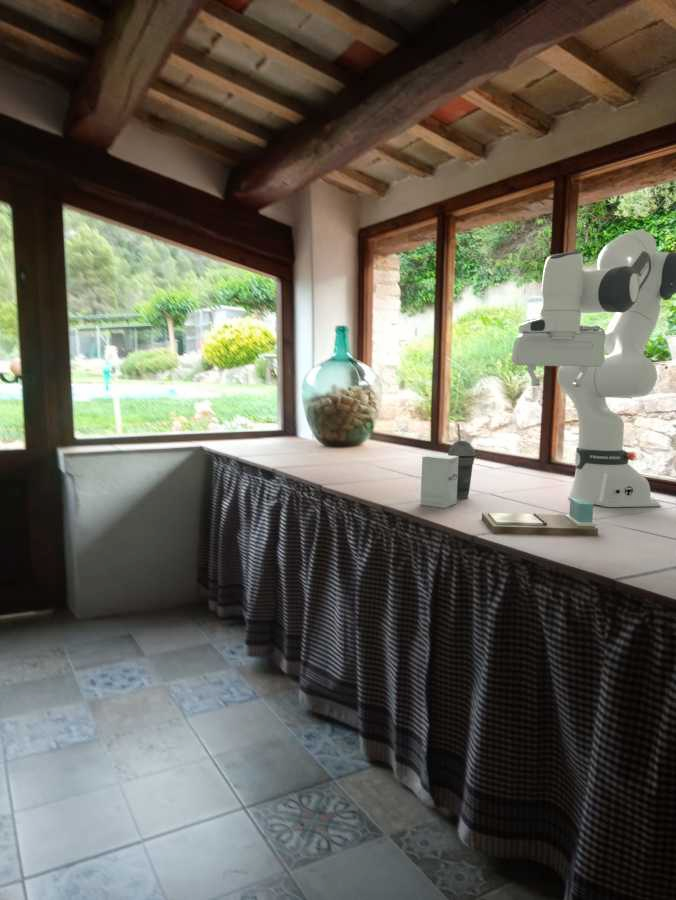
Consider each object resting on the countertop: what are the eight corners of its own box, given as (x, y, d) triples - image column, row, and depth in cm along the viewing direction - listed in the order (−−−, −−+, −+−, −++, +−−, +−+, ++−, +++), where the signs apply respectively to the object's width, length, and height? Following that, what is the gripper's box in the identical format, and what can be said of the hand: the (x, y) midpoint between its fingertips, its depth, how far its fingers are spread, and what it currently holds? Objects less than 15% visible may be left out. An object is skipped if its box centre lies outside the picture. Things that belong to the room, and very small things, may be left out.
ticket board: (576, 521, 150) (577, 512, 149) (597, 535, 137) (598, 526, 136) (481, 519, 150) (482, 510, 150) (493, 533, 137) (493, 523, 137)
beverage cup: (473, 500, 172) (476, 426, 169) (445, 499, 173) (448, 425, 171) (473, 495, 179) (476, 423, 176) (446, 494, 180) (449, 422, 178)
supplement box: (446, 508, 161) (448, 458, 160) (419, 505, 165) (421, 456, 164) (457, 503, 167) (459, 455, 166) (431, 500, 171) (432, 453, 170)
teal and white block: (582, 517, 147) (583, 497, 147) (596, 526, 138) (598, 505, 138) (564, 516, 147) (566, 497, 147) (578, 525, 139) (579, 505, 138)
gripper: (600, 326, 149) (596, 386, 151) (512, 325, 150) (509, 385, 151) (611, 324, 143) (607, 387, 144) (518, 323, 143) (515, 385, 145)
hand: (556, 386), depth 148 cm, fingers open, 8 cm apart
